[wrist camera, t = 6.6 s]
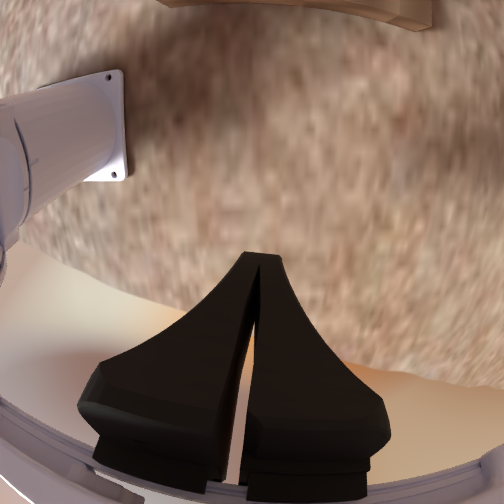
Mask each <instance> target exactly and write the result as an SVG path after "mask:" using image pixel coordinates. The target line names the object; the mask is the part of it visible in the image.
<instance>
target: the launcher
mask: <svg viewBox="0 0 504 504" xmlns="http://www.w3.org/2000/svg"><path fill="white" fill-rule="evenodd" d="M157 1H158V2H160V3H162V4H164V5H166V6H168V7H170V8H172V7H180V6H189V5H200V4H215V3H270V4H285V5H296V6H305V7H313V8H320V9H326V10H332V11H338V12H343V13H348V14H353V15H357V16H361V17H366V18H370V19H374V20H377V21H381V22H385V23H388V24H391V25H395V26H398V27H401V28H404V29H407V30H410V31H413V32H416V31H419V30H422V29H426V28H429V27H432V0H157Z"/></svg>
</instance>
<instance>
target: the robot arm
mask: <svg viewBox="0 0 504 504" xmlns="http://www.w3.org/2000/svg"><path fill="white" fill-rule="evenodd" d="M109 75H111V80H110V81H109V79H108V76H109ZM114 172H116V173H117V176H115V175H114ZM127 176H128V168H127V157H126V143H125V126H124V94H123V72H122V71H121V70H110V71H105V72H100V73H95V74H90V75H86V76H82V77H78V78H74V79H70V80H66V81H63V82H59V83H56V84H52V85H49V86H46V87H43V88H40V89H37V90H34V91H30V92H26V93H21V94H17V95H13V96H10V97H6V98H2V99H0V286H1V284H2V282H3V280H4V277H5V274H6V269H7V259H6V254H5V252H6V251H7V250H8V249H10V248H11V247H12V246H13V245H14V244H15V243H16V242H17V241H18V230H19V227H20V226H21V225H22V224H23V223H25V222H26V221H27V220H28V219H30V218H31V217H32V216H34V215H35V214H36V213H38V212H39V211H40V210H42V209H43V208H44V207H46V206H47V205H48V204H50V203H51V202H53V201H54V200H55V199H57V198H58V197H60V196H61V195H63V194H64V193H65V192H67V191H68V190H70V189H71V188H73V187H74V186H76V185H77V184H79V183H80V182H82V181H123V180H125V179H126V178H127ZM254 321H255V328H254V365H253V372H252V380H251V386H250V394H249V400H248V407H247V415H246V424H245V434H244V443H243V451H242V458H241V464H240V465H241V466H240V475H239V483H238V485H233V484H226V483H222V482H223V481H224V480H226V474H227V466H228V460H229V452H230V445H231V439H232V432H233V425H234V418H235V412H236V405H237V398H238V391H239V384H240V379H241V374H242V369H243V365H244V361H245V358H246V353H247V350H248V346H249V342H250V337H251V334H252V330H253V325H254ZM77 407H78V410H79V413H80V414H81V416H82V417H83V418H84V419H85V420H86V421H87V423H88V424H89V425H90V426H91V427H92V428H93V429H94V430H95V431H96V432H97V433H98V434H99V435H100V437H99V440H98V442H97V445H96V447H95V448H94V447H92V446H90V445H87V444H85V443H83V442H81V441H79V440H76V439H74V438H72V437H70V436H68V435H66V434H64V433H61V432H60V431H58V430H56V429H54V428H52V427H50V426H48V425H46V424H44V423H43V422H41V421H39V420H37V419H35V418H34V417H32V416H30V415H29V414H27V413H25V412H24V411H22V410H21V409H19V408H17V407H16V406H14V405H12V404H11V403H10V402H8V401H7V400H5V399H4V398H2V397H1V395H0V477H1V478H2V479H4V480H5V481H6V482H7V483H8V484H9V485H10V486H11V487H12V488H13V489H15V490H16V491H17V492H18V493H19V494H20V495H22V496H23V497H24V498H25V499H26V500H28V501H29V502H30V503H31V504H144V501H145V499H144V497H142V496H140V495H137V494H135V493H133V492H131V491H129V490H127V489H125V488H124V487H123V486H121V485H119V484H117V483H114V482H112V481H110V480H107V479H105V478H103V477H101V476H99V475H96V473H95V471H94V470H96V471H98V472H101V473H103V474H106V475H108V476H110V477H113V478H116V479H118V480H121V481H124V482H127V483H129V484H132V485H135V486H138V487H141V488H145V489H148V490H151V491H154V492H158V493H162V494H166V495H169V496H173V497H177V498H181V499H186V500H190V501H195V502H200V503H205V504H504V444H502V445H500V446H498V447H496V448H494V449H492V450H490V451H489V452H487V453H486V454H484V455H483V456H481V458H479V459H476V460H473V461H471V462H468V463H465V464H462V465H459V466H456V467H452V468H450V469H446V470H442V471H439V472H435V473H431V474H427V475H423V476H418V477H414V478H409V479H404V480H399V481H394V482H388V483H382V484H374V485H367V472H368V471H370V468H371V466H370V457H371V456H373V455H374V454H375V453H377V452H378V451H379V450H380V449H382V448H383V447H384V446H385V445H386V444H387V442H388V441H389V440H390V438H391V429H390V422H389V419H388V415H387V411H386V408H385V405H384V402H383V399H382V398H381V397H380V396H379V395H378V394H376V393H375V392H374V391H373V390H372V389H370V388H369V387H368V386H367V385H366V384H364V383H363V382H362V381H361V380H360V379H359V378H357V377H356V376H355V375H354V374H353V373H352V372H351V371H350V370H349V369H348V368H347V367H346V366H345V365H344V364H343V362H342V361H341V360H340V359H339V358H338V357H337V356H336V354H335V353H334V352H333V351H332V350H331V349H330V348H329V346H328V345H327V344H326V343H325V341H324V340H323V339H322V337H321V336H320V335H319V333H318V332H317V331H316V329H315V328H314V326H313V325H312V323H311V322H310V320H309V319H308V317H307V315H306V314H305V312H304V310H303V308H302V307H301V305H300V303H299V301H298V299H297V297H296V295H295V293H294V291H293V289H292V287H291V285H290V282H289V280H288V278H287V275H286V272H285V269H284V266H283V263H282V258H281V257H280V256H279V255H274V254H265V253H255V252H246V251H244V252H243V253H242V254H241V255H240V257H239V258H238V260H237V261H236V263H235V264H234V265H233V267H232V268H231V269H230V270H229V272H228V273H227V274H226V275H225V276H224V278H223V279H222V280H221V281H220V282H219V283H218V285H217V286H216V287H215V288H214V289H213V290H212V291H211V292H210V293H209V294H208V295H207V296H206V297H205V298H204V299H203V300H202V301H201V302H200V303H198V304H197V305H196V306H195V307H194V308H193V309H192V310H190V311H189V312H188V313H187V314H186V315H184V316H183V317H182V318H180V319H179V320H178V321H176V322H175V323H173V324H172V325H171V326H169V327H168V328H167V329H165V330H164V331H162V332H160V333H159V334H157V335H155V336H154V337H152V338H150V339H148V340H147V341H145V342H143V343H142V344H140V345H138V346H136V347H134V348H132V349H130V350H128V351H126V352H123V353H121V354H119V355H117V356H114V357H112V358H110V359H107V360H105V361H102V362H100V363H99V365H98V366H97V368H96V369H95V371H94V372H93V374H92V375H91V377H90V379H89V381H88V383H87V385H86V387H85V389H84V391H83V393H82V395H81V397H80V399H79V401H78V404H77Z"/></svg>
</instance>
